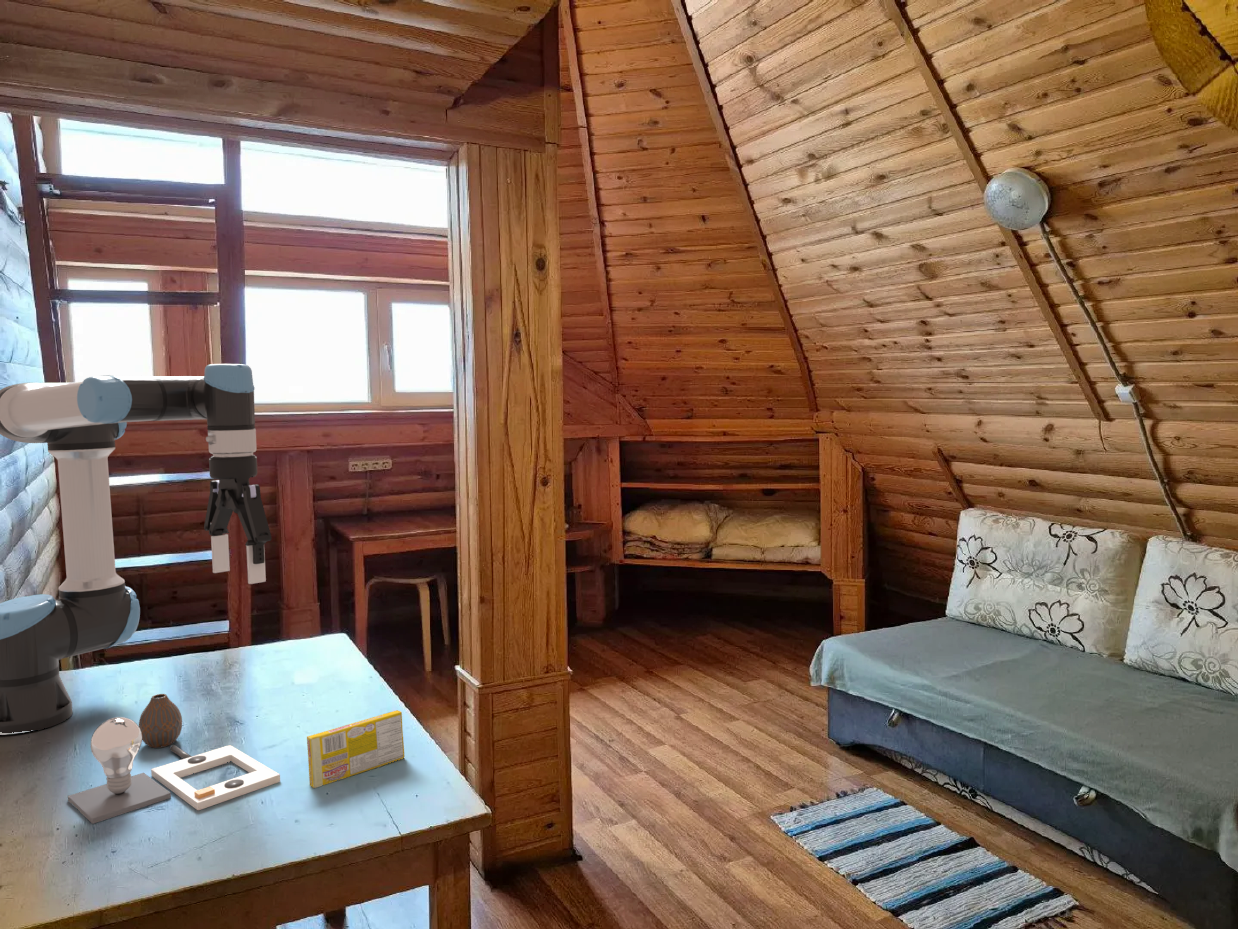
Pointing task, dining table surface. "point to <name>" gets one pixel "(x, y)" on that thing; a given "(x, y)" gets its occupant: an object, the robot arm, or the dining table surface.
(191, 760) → the white square frame
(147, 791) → the felt pad
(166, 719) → the vase
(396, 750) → the candy box
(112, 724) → the light bulb
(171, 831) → the dining table surface
